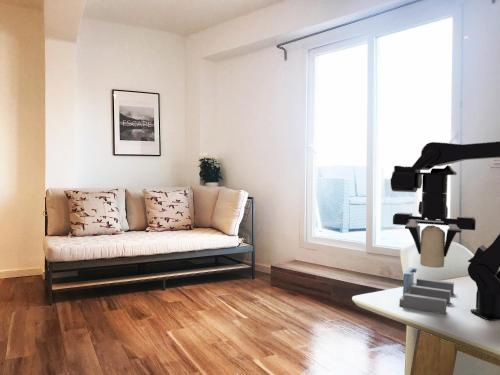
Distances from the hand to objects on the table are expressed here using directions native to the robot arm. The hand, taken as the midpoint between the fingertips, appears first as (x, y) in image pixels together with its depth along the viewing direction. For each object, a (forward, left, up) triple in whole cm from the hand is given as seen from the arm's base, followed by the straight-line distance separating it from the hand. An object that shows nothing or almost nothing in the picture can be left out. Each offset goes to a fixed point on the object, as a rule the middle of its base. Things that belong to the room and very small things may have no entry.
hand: (432, 255), depth 108 cm
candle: (0, 0, -3) cm, 3 cm away
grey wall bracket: (+5, -2, -12) cm, 13 cm away
